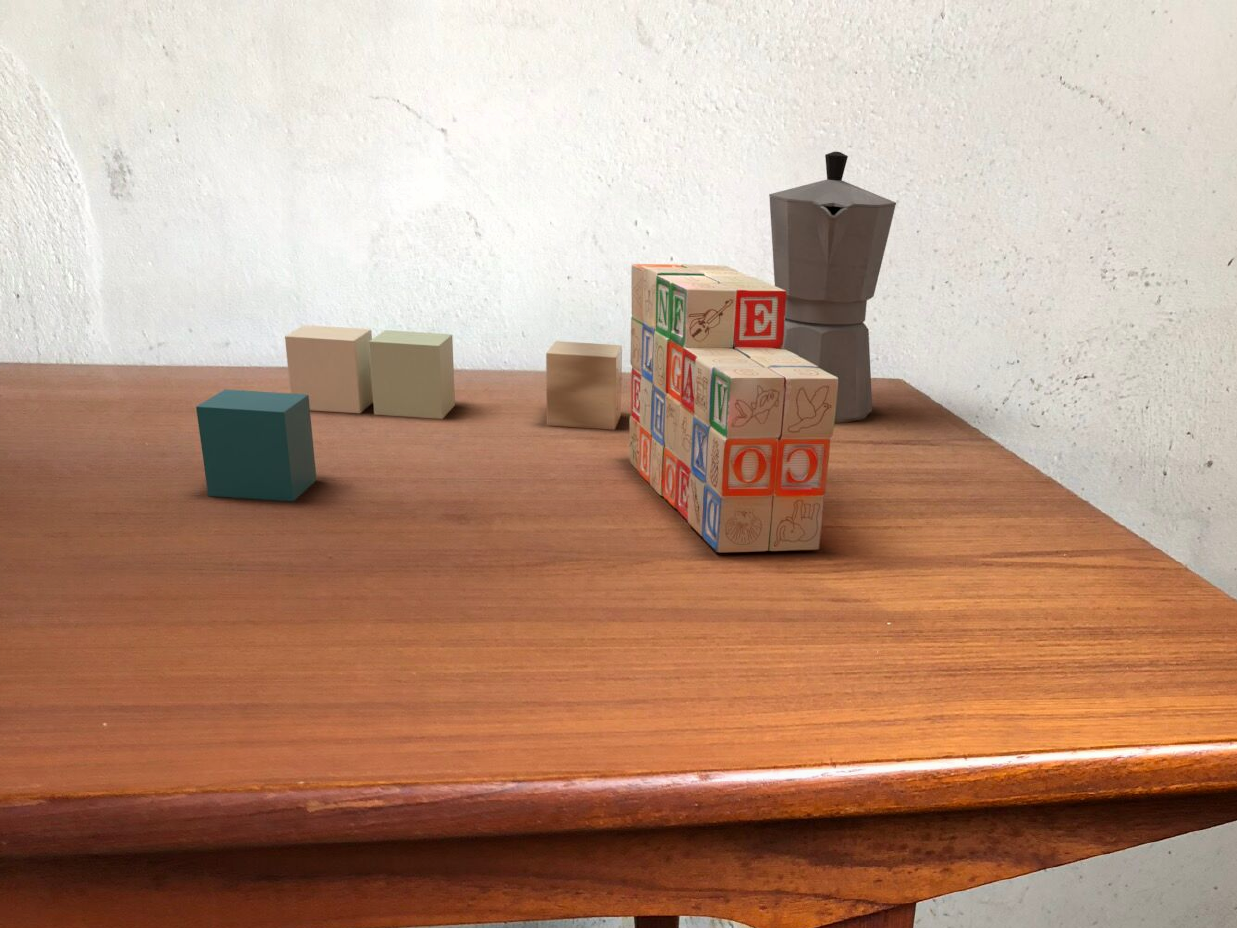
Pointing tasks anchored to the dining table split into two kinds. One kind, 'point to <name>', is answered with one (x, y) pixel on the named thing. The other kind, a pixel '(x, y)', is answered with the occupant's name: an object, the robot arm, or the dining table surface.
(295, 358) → the block
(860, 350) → the coffeepot
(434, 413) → the block
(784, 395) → the stack of blocks
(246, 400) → the teal block
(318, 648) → the dining table surface
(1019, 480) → the dining table surface
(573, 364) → the block
